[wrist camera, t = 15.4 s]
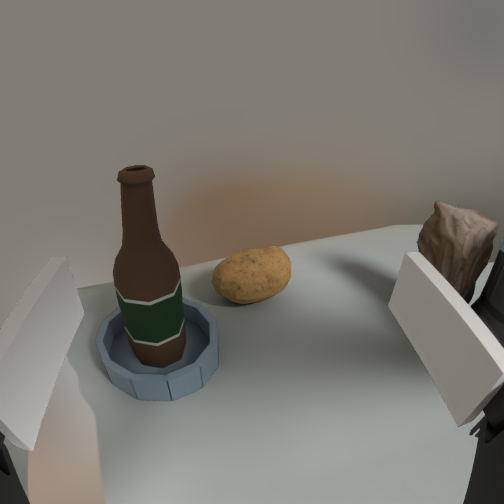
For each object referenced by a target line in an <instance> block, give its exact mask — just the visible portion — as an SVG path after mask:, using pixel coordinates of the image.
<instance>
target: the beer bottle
mask: <svg viewBox="0 0 504 504" xmlns="http://www.w3.org/2000/svg"><path fill="white" fill-rule="evenodd" d="M154 177H155V175H154V172H153V169H152V168H150V167H148V166H145V165H135V166H130V167H126V168H124V169H123V170H121V171H119V173H118V178H117V181H118V182H120V183H121V208H122V226H123V240H122V247H121V249H120V251H119V253H118V255H117V257H116V259H115V264H114V269H113V276H114V285H115V290H116V294H117V298H118V303H119V307H120V311H121V315H122V319H123V322H124V326H125V330H126V334H127V337H128V341H129V344H130V346H131V349H132V351H133V352H134V354H135V355H136V357H137V358H138V360H139V361H140V363H141V364H142V365H146V366H152V367H158V368H165V367H167V366H169V365H171V364H173V363H175V362H177V361H179V360H181V358H182V355H183V352H184V349H185V345H186V329H185V319H184V310H183V300H182V289H181V278H180V272H179V266H178V263H177V261H176V259H175V257H174V255H173V253H172V252H171V250H170V249H169V248H168V247H167V246H166V245H165V244H164V242H163V241H162V239H161V236H160V233H159V229H158V223H157V216H156V209H155V201H154V193H153V185H152V179H153V178H154Z"/></svg>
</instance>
